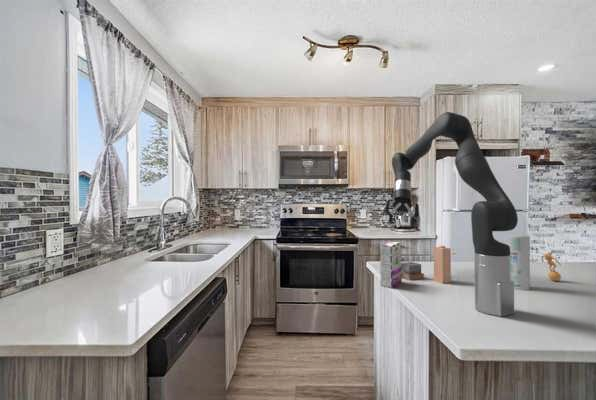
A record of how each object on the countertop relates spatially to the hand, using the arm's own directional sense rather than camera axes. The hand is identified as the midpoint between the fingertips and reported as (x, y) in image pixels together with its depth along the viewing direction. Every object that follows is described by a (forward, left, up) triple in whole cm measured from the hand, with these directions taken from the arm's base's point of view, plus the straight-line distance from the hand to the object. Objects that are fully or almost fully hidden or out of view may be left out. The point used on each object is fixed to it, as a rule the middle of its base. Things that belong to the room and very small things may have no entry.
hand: (401, 224), depth 134 cm
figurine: (-29, -53, -23) cm, 65 cm away
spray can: (-30, -31, -23) cm, 49 cm away
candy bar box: (-7, +11, -23) cm, 27 cm away
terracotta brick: (-12, -11, -23) cm, 28 cm away
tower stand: (-1, -4, -23) cm, 23 cm away
